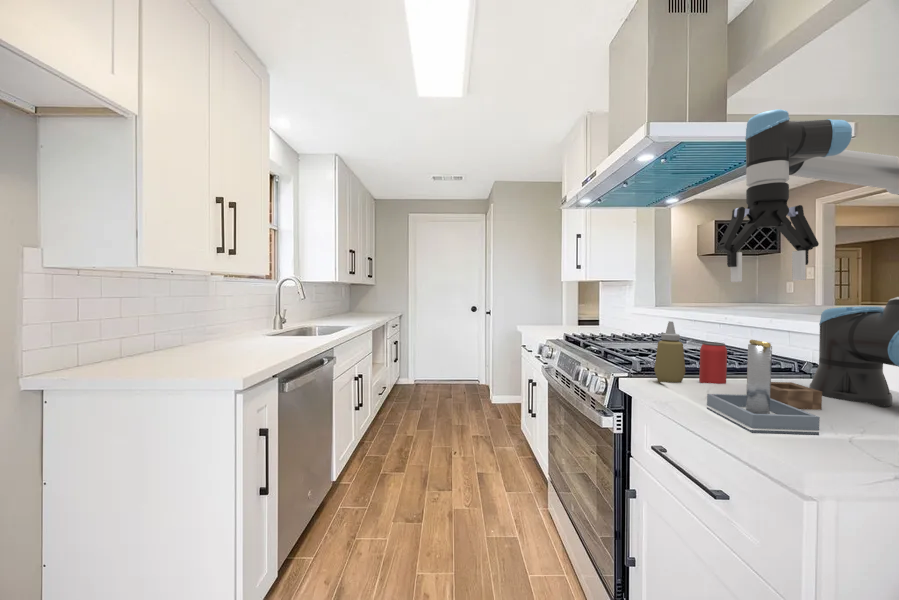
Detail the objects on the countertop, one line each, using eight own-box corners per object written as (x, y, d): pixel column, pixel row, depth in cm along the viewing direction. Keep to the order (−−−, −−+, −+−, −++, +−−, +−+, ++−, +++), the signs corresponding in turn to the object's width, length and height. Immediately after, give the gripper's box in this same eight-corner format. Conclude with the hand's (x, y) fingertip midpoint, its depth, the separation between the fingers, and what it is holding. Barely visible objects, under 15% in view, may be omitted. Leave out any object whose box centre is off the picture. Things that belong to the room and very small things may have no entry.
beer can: (730, 387, 116) (731, 345, 116) (704, 386, 118) (705, 344, 117) (720, 382, 123) (721, 342, 123) (695, 381, 124) (696, 341, 124)
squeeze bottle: (666, 379, 127) (668, 320, 126) (691, 385, 119) (693, 322, 119) (647, 381, 123) (649, 320, 123) (672, 387, 116) (673, 323, 115)
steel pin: (758, 412, 90) (760, 339, 89) (775, 421, 85) (778, 342, 84) (738, 412, 90) (741, 339, 90) (755, 420, 85) (757, 342, 84)
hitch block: (791, 402, 101) (791, 382, 101) (821, 414, 92) (822, 391, 92) (752, 401, 102) (752, 381, 102) (778, 412, 93) (779, 390, 93)
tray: (762, 410, 95) (762, 395, 95) (818, 435, 79) (819, 416, 79) (706, 408, 96) (707, 393, 95) (752, 433, 80) (752, 414, 80)
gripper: (810, 187, 96) (810, 279, 96) (700, 190, 96) (700, 282, 97) (840, 178, 88) (840, 279, 89) (720, 182, 89) (720, 282, 90)
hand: (767, 281), depth 93 cm, fingers open, 13 cm apart
